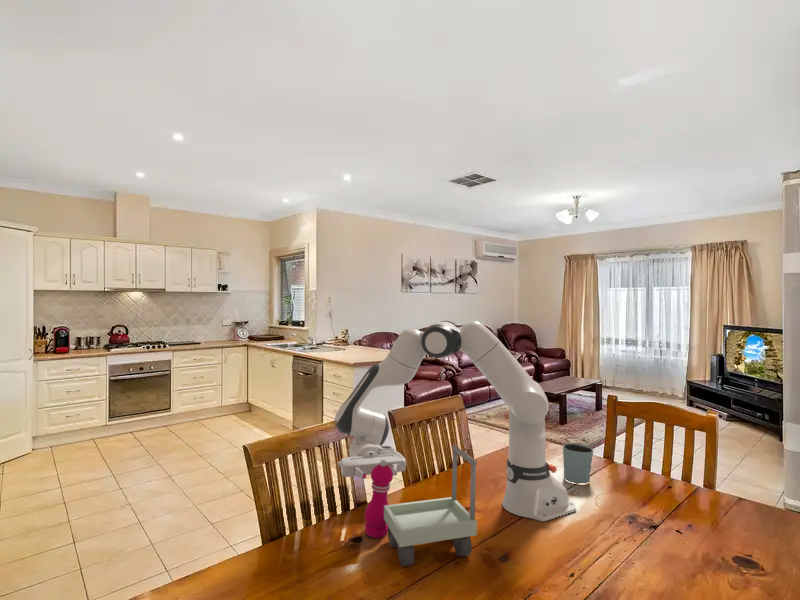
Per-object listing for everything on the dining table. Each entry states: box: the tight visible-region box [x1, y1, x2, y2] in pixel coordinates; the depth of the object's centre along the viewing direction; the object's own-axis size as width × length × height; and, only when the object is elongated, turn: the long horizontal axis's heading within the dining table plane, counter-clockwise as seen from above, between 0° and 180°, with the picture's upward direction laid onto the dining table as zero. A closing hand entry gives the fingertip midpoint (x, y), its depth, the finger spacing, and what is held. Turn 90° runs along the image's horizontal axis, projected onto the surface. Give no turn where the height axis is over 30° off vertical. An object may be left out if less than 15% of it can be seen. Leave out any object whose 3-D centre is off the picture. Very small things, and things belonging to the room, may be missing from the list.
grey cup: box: [562, 443, 594, 483], centre depth 160 cm, size 10×10×12 cm
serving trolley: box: [384, 444, 478, 567], centre depth 114 cm, size 20×14×24 cm
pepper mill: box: [364, 460, 394, 539], centre depth 122 cm, size 7×7×20 cm
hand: (379, 474), depth 131 cm, fingers open, 8 cm apart
